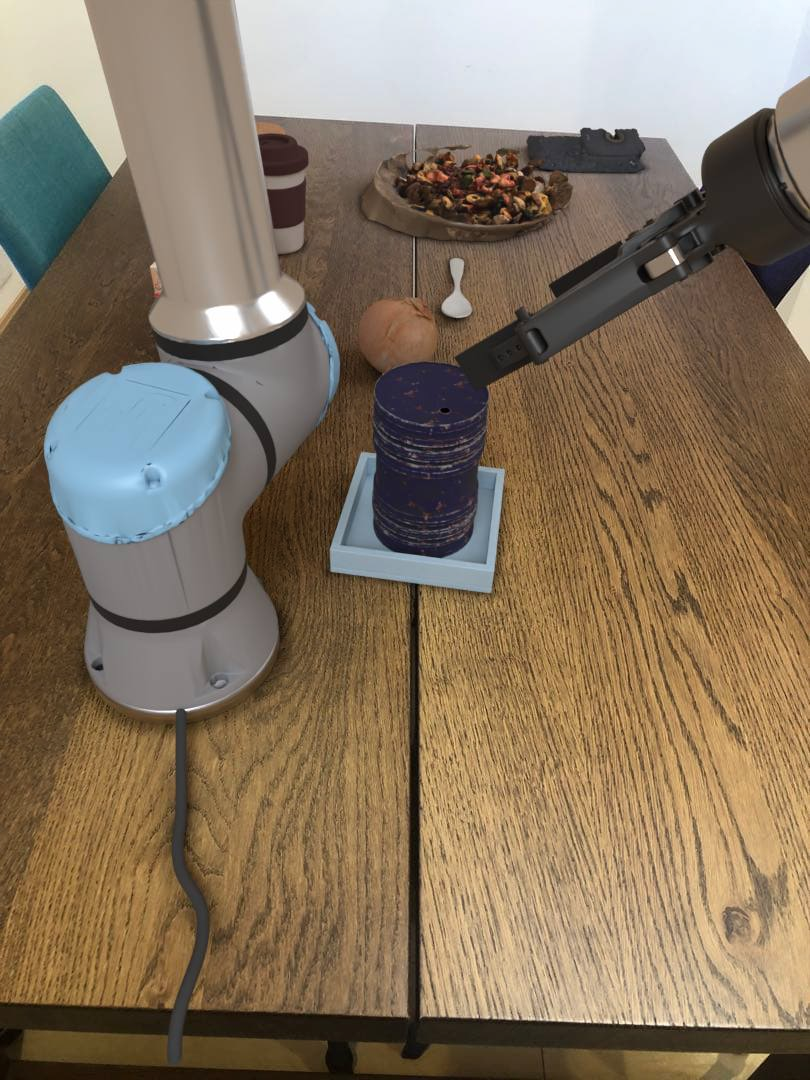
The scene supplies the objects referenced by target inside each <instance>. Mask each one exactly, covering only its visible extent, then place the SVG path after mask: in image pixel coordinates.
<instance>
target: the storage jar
mask: <svg viewBox="0 0 810 1080" xmlns="http://www.w3.org/2000/svg"><path fill="white" fill-rule="evenodd" d="M489 405H490V390H489V388H488V386H486V387H484V388H482V389H480V390H478V391H475V390H474V388H473V387H472V385H471V384H470V382H469V380H468V379H467V377H466V376H465V374H464V372H463V371H462V369H461V368H460V366H459V365H456V364H452V363H448V362H440V361H431V360H430V361H423V362H412V363H407V364H403V365H400V366H397V367H394V368H392V369H390V370H388V371H387V372H385V373H384V374H383V375H382V374H381V376H379V378H378V379H377V381H376V382H375V384H374V388H373V412H372V437H371V438H372V444H373V450H374V451H375V453H376V471H375V474H374V479H373V491H372V507H373V514H374V516H373V528H374V532H375V535H376V537H377V538H378V540H379V541H380V542H381V543H382V544H383V545H384V546H385V547H386V548H388V549H389V550H391V551H392V552H396V553H404V554H411V555H419V556H426V557H434V558H444V557H447V556H450V555H452V554H454V553H457V552H458V551H460V550H461V549H462V548H463V547H465V546H466V545H467V543H468V542H469V541H470V539H471V537H472V534H473V528H474V519H475V515H476V512H477V505H478V488H479V483H478V478H477V474H478V466H480V464H479V463H480V460H481V458H482V457H483V456H482V455H483V452H484V450H485V446H486V436H487V429H488V411H489V409H488V408H489Z"/></svg>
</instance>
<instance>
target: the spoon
mask: <svg viewBox="0 0 810 1080" xmlns="http://www.w3.org/2000/svg"><path fill="white" fill-rule="evenodd" d="M449 266H450V267H449V268H450V275H451V277H452V280H453V283H454V290H453V292H452V293H451V294H449V296H447V298H446V299H445V300H443V302H442V304H441V307H440V308H441V309H440V310H441V312H442V313H443V314H444V315H445V316H448V317H451V318H456V319H459V318H461V319H462V318H467V317H469V316H470V315H471V314H472V312H473V308H472V304H471V303H470V302H469V300H468V299H467V298H466V297H465V296H464V295H463V293H462V291H461V281H462V277H463V274H464V268H465V267H464V266H465V261H464V260H463V259H461V258H459V257H454V258H451V259H450V260H449Z"/></svg>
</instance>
